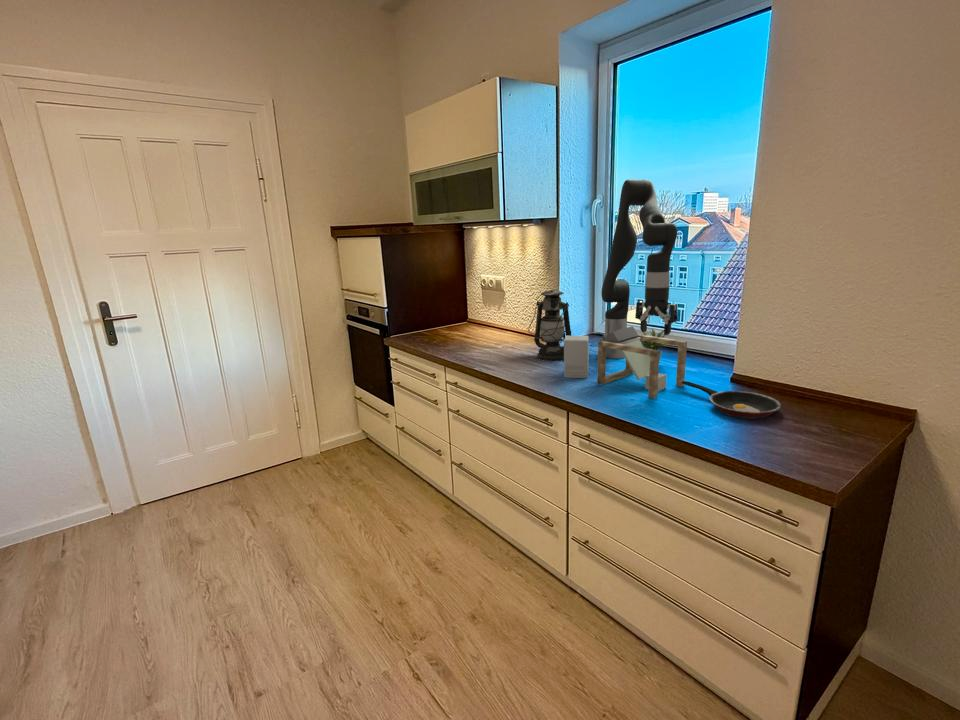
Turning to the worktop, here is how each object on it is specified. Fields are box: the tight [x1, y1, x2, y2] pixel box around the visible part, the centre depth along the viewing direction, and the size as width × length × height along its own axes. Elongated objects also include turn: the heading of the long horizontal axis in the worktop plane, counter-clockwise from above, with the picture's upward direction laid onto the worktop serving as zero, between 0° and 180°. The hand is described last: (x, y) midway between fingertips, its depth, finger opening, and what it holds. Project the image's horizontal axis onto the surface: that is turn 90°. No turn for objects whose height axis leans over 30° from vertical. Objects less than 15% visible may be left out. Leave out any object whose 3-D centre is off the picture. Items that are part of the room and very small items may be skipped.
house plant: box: [637, 327, 671, 363], centre depth 191 cm, size 14×14×16 cm
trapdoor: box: [604, 326, 660, 381], centre depth 172 cm, size 19×14×5 cm
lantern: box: [527, 289, 572, 362], centre depth 210 cm, size 19×19×30 cm
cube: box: [644, 372, 667, 392], centre depth 167 cm, size 5×5×5 cm
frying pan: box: [681, 380, 781, 420], centre depth 150 cm, size 19×32×4 cm, turn 27°
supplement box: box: [563, 335, 590, 379], centre depth 186 cm, size 9×9×15 cm
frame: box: [596, 333, 688, 399], centre depth 170 cm, size 23×19×16 cm
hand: (655, 333), depth 163 cm, fingers open, 8 cm apart
